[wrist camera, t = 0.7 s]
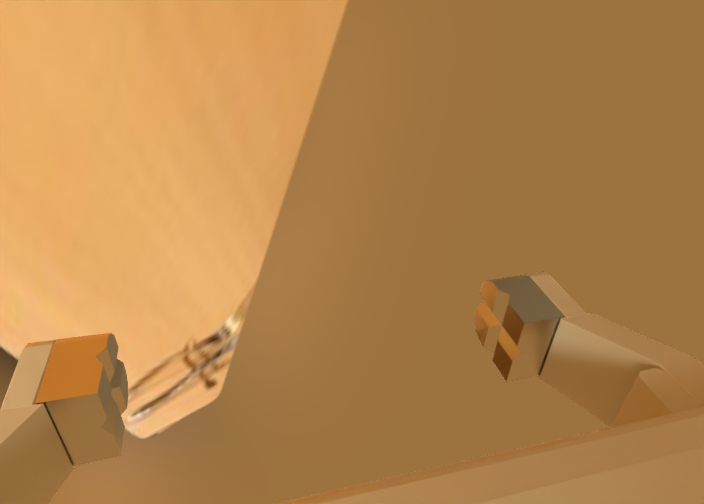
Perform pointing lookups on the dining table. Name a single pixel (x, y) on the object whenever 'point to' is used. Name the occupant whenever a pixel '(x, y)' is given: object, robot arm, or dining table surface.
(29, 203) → the dining table surface
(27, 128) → the dining table surface
